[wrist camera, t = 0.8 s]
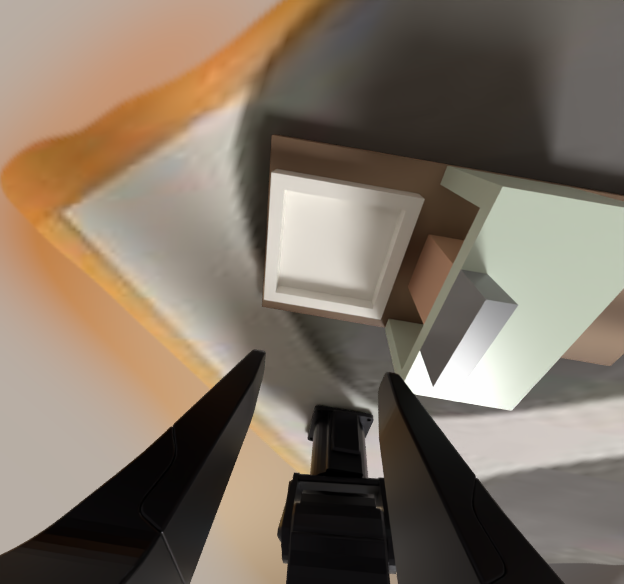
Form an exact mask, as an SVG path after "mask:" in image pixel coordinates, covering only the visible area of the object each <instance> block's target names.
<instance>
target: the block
mask: <svg viewBox="0 0 624 584" xmlns="http://www.w3.org/2000/svg"><path fill="white" fill-rule="evenodd" d="M463 242H464V240H459V239H453V238H447V237H441V236H436V235H430V234H428V237H427V239H426V242H425V244H424V247H423V249H422V252H421V254H420V257H419V259H418V262H417V264H416V267H415V269H414V272H413V274H412V277H411V279H410V282H409V284H408V289H409V291H410V293H411V296H412V298H413V301H414V303H415V305H416V308H417V310H418V312H419V315H420V317H421V319H422V322H423V324H424V323H425V321H426V319H427V317H428V315H429V313H430V311H431V309H432V307H433V305H434V302H435V300H436V298H437V296H438V294H439V292H440V290H441V288H442V286H443V284H444V282H445V280H446V278H447V276H448V273H449V271H450V269H451V267H452V265H453V263H454V261H455V259H456V257H457V255H458V253H459V251H460V249H461V246H462V244H463Z"/></svg>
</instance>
